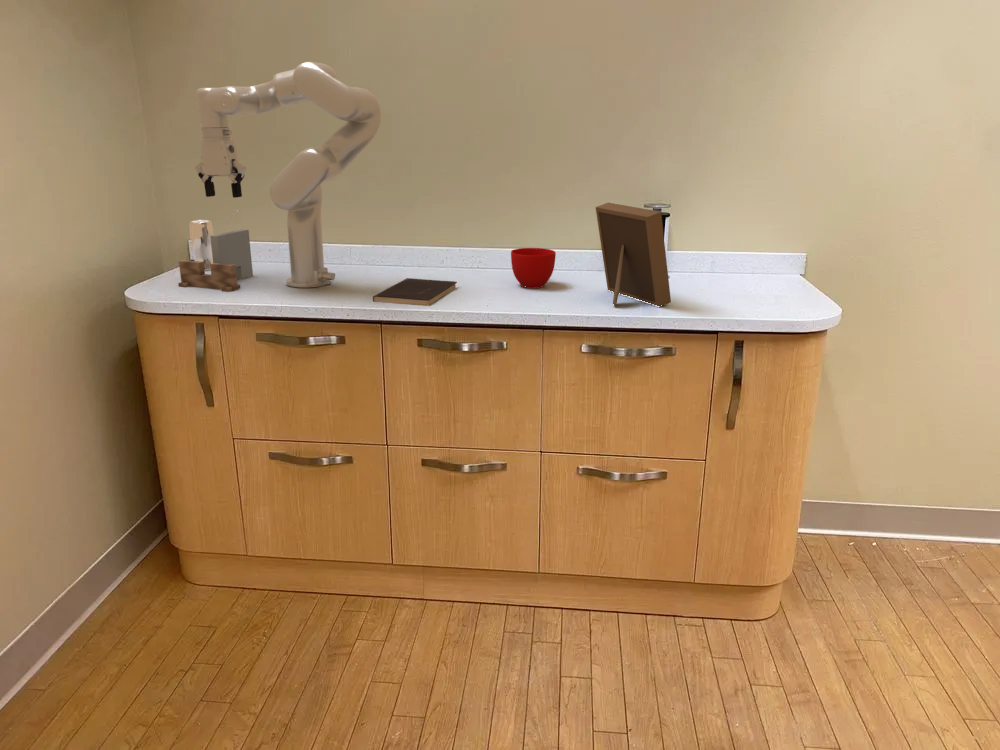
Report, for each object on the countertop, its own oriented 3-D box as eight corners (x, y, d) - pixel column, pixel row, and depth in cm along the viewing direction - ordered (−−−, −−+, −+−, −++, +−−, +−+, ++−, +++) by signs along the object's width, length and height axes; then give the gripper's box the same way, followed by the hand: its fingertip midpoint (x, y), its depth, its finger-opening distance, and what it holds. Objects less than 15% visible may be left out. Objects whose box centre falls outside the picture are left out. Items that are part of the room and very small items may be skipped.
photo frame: (619, 289, 220) (624, 201, 211) (670, 305, 202) (678, 210, 194) (577, 295, 213) (580, 204, 205) (626, 312, 195) (632, 214, 187)
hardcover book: (456, 289, 221) (456, 281, 220) (429, 307, 200) (428, 299, 199) (405, 285, 225) (405, 277, 224) (372, 303, 204) (372, 295, 203)
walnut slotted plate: (241, 288, 217) (238, 263, 214) (229, 291, 212) (227, 266, 210) (190, 282, 222) (187, 259, 220) (178, 286, 218) (174, 262, 216)
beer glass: (222, 268, 243) (217, 220, 238) (203, 271, 237) (198, 223, 233) (207, 266, 246) (202, 219, 242) (189, 269, 241) (183, 221, 236)
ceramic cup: (555, 278, 233) (556, 246, 230) (553, 291, 217) (555, 256, 214) (513, 277, 234) (513, 245, 231) (508, 289, 218) (509, 255, 215)
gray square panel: (253, 275, 233) (248, 229, 228) (222, 284, 220) (217, 236, 216) (246, 275, 234) (241, 229, 229) (215, 284, 221) (210, 235, 217)
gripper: (249, 134, 214) (256, 196, 220) (201, 134, 220) (209, 194, 226) (231, 134, 208) (239, 198, 213) (182, 135, 214) (191, 197, 219)
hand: (224, 196), depth 220 cm, fingers open, 9 cm apart
